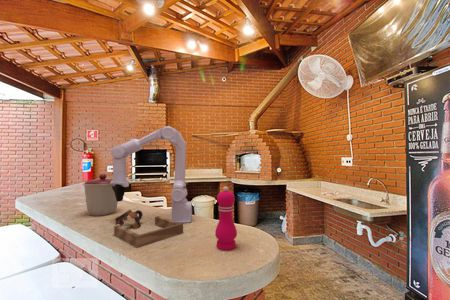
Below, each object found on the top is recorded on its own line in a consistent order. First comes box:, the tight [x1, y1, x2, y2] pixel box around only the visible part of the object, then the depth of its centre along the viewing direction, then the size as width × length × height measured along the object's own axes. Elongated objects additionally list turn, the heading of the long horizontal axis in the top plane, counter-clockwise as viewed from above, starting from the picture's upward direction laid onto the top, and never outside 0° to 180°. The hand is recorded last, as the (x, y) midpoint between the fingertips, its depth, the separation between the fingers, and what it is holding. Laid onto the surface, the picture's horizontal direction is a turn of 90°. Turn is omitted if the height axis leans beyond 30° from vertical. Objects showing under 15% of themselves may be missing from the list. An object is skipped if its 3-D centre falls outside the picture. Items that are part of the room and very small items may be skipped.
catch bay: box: [113, 215, 184, 248], centre depth 89 cm, size 18×19×4 cm
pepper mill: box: [214, 186, 238, 251], centre depth 77 cm, size 7×7×20 cm
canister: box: [82, 173, 119, 217], centre depth 122 cm, size 18×18×21 cm
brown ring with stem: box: [114, 209, 143, 230], centre depth 100 cm, size 12×10×8 cm
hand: (119, 201), depth 107 cm, fingers closed
